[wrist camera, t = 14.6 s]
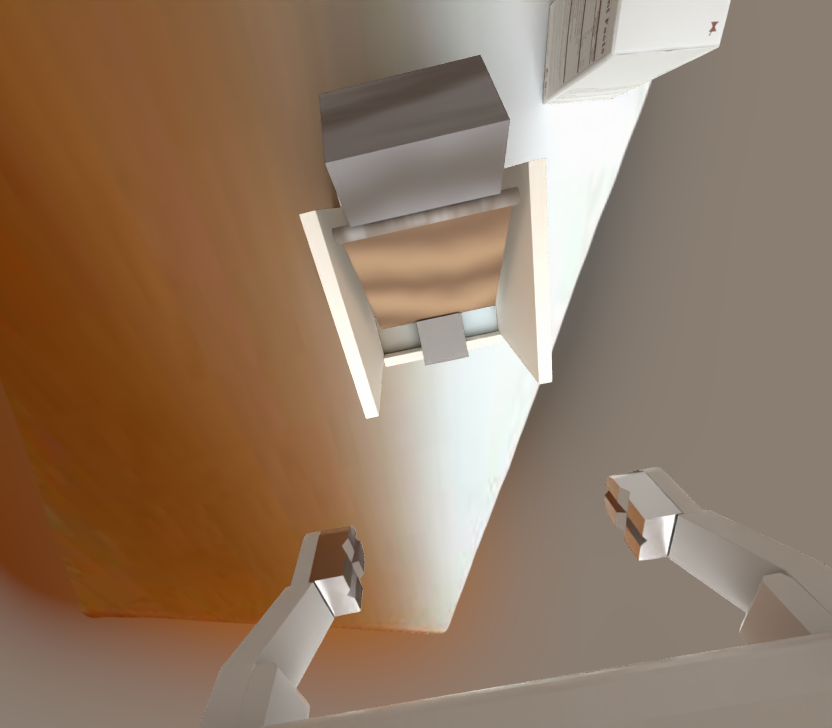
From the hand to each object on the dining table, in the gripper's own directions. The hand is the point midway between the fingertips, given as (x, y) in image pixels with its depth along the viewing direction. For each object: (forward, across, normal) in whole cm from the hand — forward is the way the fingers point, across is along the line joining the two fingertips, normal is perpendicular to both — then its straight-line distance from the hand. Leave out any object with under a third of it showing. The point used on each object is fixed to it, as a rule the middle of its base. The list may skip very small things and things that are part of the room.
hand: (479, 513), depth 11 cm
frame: (+33, -1, 0) cm, 33 cm away
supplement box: (+34, -19, -17) cm, 42 cm away
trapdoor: (+28, -1, -9) cm, 29 cm away
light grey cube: (+27, -1, +6) cm, 28 cm away
